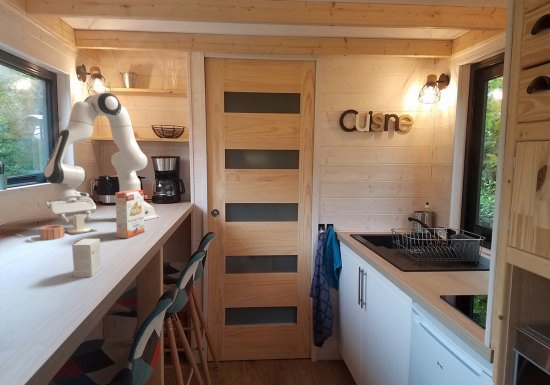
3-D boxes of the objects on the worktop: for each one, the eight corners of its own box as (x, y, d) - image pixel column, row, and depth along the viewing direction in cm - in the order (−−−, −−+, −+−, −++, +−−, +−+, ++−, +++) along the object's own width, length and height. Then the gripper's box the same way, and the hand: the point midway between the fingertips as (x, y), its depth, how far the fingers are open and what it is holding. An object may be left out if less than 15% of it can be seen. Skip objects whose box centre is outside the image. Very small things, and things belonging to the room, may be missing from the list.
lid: (85, 228, 179) (84, 212, 178) (94, 230, 173) (93, 214, 172) (63, 231, 172) (62, 215, 171) (73, 234, 165) (72, 217, 165)
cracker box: (128, 238, 161) (126, 192, 158) (116, 238, 162) (114, 192, 159) (145, 231, 174) (143, 189, 172) (134, 231, 176) (132, 189, 173)
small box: (84, 269, 120) (82, 238, 119) (101, 268, 121) (100, 238, 120) (73, 277, 112) (71, 244, 111) (91, 277, 113) (90, 244, 112)
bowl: (59, 235, 166) (58, 224, 166) (67, 238, 161) (67, 226, 160) (37, 238, 159) (36, 227, 159) (45, 242, 154) (44, 230, 153)
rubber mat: (86, 228, 181) (86, 227, 181) (97, 231, 174) (97, 230, 174) (60, 232, 171) (60, 231, 171) (71, 236, 164) (71, 235, 164)
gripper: (46, 196, 167) (56, 220, 162) (91, 193, 183) (101, 214, 178) (43, 205, 170) (53, 228, 165) (87, 200, 186) (97, 221, 181)
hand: (78, 220), depth 172 cm, fingers open, 8 cm apart
